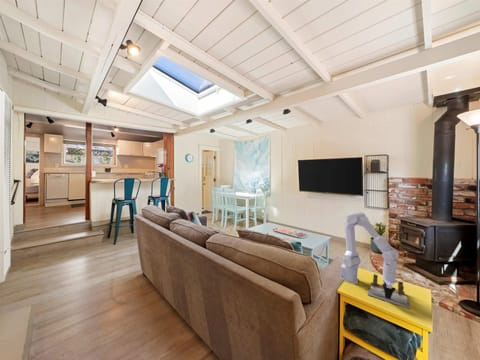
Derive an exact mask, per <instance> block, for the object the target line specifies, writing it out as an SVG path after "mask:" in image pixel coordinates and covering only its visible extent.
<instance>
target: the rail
mask: <svg viewBox="0 0 480 360" xmlns="http://www.w3.org/2000/svg"><path fill="white" fill-rule="evenodd" d="M370 288H371V291H370V293H372V294H375V295H378V296H381V297H384V298H385V291H384V289H381V288H378V287H374V286H371V285H370ZM387 299H388V298H387ZM390 300H393V301H397V302H400V303H403V304H406V305H407V300H408V296H406V295H405V296H404V295H400V294H397V293H394V292H393V294H392V296H391V299H390Z"/></svg>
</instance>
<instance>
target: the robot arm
mask: <svg viewBox="0 0 480 360" xmlns="http://www.w3.org/2000/svg"><path fill="white" fill-rule="evenodd" d="M356 226H358V227H363V228H364V230H365V231H367V233H368V234H369V235H370V236H371V237H372V238H373V243H374V244H375V246H376V247H377V248H378V249H379V251H380V252H381V257H382V258H383V265H382V276H381V279H382V281H383V283H382V284H381V285H382V286H383V288H384V291H385V298H388V299H391V296H392V294H393V292H394V291H395V289H396V287H393V285H394V284H398V281H399V280H398V279H397V277H396V276H397V265H398V264H397V263H398V259H399V257H400V253H399V251H398V249H396V248H394V247H393V246H391V245H390V242H388V240H387V238H385V237H384V236H382V235H380V234H379V233H378V231H377V230H376V228H375V227H374V226H373V225H372V224H371V222H370V220H369V218H368V217H367V215H366V214H365V213H364V212H362V211H359V212H352V213H351V212H350V213H349V214H348V215H346V220H345V222H344V234H345V248H346V251H345V253H344V254H343V259H342V262H343V263H341V268H340V276H339V277H340V278H339V279H340V280H342V281H345V282H348V283H351V284H354V285H358V281H359V278H358V273H359V272H358V270H359V265H360V264H361V259H360V257H359V253H358V252H357V246H356V233H355V227H356Z"/></svg>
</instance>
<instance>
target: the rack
mask: <svg viewBox="0 0 480 360" xmlns="http://www.w3.org/2000/svg"><path fill="white" fill-rule="evenodd" d="M372 279H373V280H372V281H371V282H370V287H371V286H374V287H378V288H381V289H384V288H383V286H382V284H381V283H378V274H373V277H372ZM404 289H405V288H404V282H403V281H400V280H398V283H397V288H395V291H394V293H397V294H400V295H404V296H406V293H405V291H404Z"/></svg>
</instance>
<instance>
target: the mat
mask: <svg viewBox="0 0 480 360" xmlns="http://www.w3.org/2000/svg"><path fill="white" fill-rule="evenodd" d="M370 291H371V287H368V291H367V296H369V297H372V298H375V299H379V300H381V301H384V302H387V303H390V304H394V305H396V306H399V307H402V308H406V309H408V310H410V309H411V308H410V304H409V299H407V305H406V304H403V303H400V302H397V301H393V300H390V299H387V298H384V297H381V296H378V295H375V294H372V293H370Z"/></svg>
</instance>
